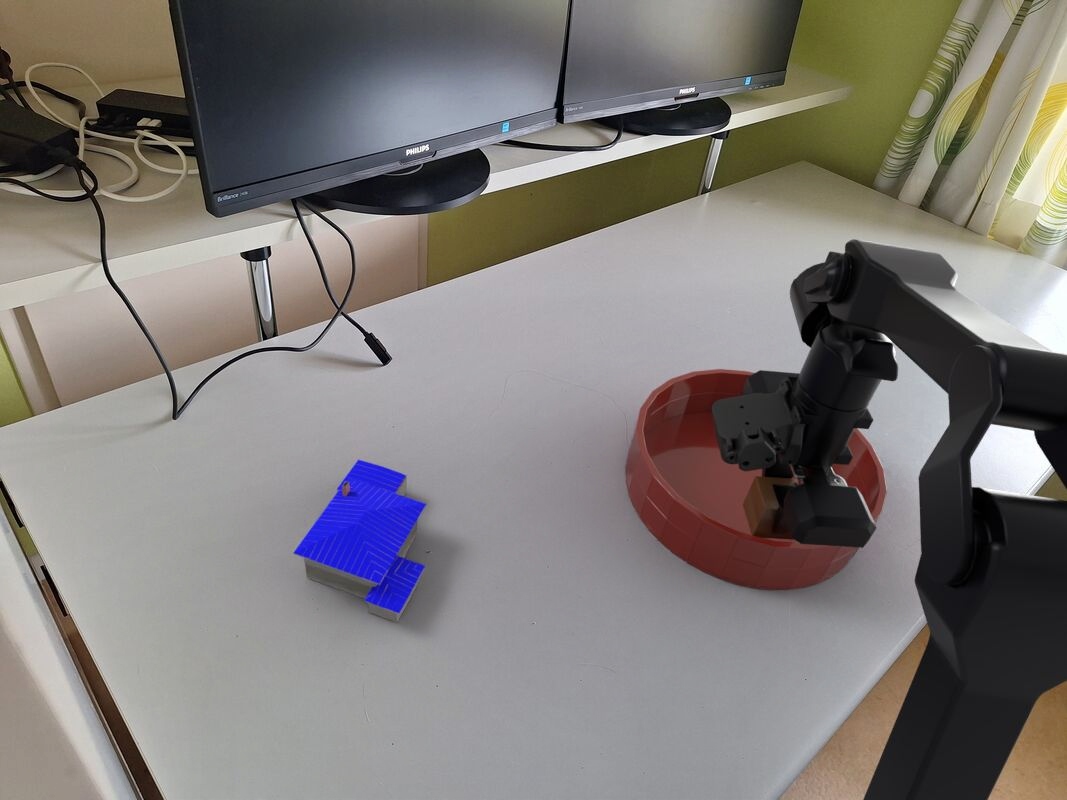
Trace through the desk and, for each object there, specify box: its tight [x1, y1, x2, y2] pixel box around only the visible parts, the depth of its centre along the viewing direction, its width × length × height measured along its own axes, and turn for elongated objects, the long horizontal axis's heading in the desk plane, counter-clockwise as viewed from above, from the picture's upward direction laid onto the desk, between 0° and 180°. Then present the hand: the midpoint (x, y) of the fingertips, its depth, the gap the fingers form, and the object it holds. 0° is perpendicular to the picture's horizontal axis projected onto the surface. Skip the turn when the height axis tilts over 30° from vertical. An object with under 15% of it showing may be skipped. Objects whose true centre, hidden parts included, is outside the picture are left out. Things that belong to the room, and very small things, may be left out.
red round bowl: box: [624, 368, 888, 591], centre depth 80 cm, size 25×25×6 cm
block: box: [743, 476, 798, 540], centre depth 70 cm, size 4×4×4 cm
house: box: [293, 459, 427, 623], centre depth 69 cm, size 11×14×6 cm
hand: (771, 514), depth 71 cm, fingers closed on block, 4 cm apart
